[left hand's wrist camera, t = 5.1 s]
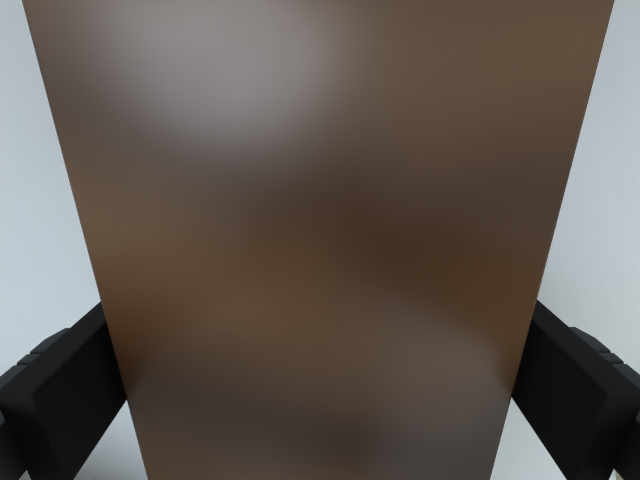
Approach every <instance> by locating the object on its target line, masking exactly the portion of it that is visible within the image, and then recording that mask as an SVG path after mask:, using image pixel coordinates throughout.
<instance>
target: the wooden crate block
mask: <svg viewBox="0 0 640 480" xmlns="http://www.w3.org/2000/svg"><path fill="white" fill-rule="evenodd" d="M22 2H23V6H24V10H25V14H26V18H27V21H28V25H29V29H30V33H31V37H32V40H33V44H34V48H35V52H36V56H37V59H38V63H39V67H40V71H41V75H42V78H43V82H44V86H45V90H46V94H47V97H48V101H49V105H50V109H51V113H52V116H53V120H54V124H55V128H56V132H57V135H58V139H59V143H60V147H61V151H62V154H63V158H64V162H65V166H66V170H67V173H68V177H69V181H70V185H71V189H72V192H73V196H74V200H75V204H76V208H77V212H78V215H79V219H80V223H81V227H82V231H83V234H84V238H85V242H86V246H87V250H88V253H89V257H90V261H91V265H92V269H93V272H94V276H95V280H96V284H97V288H98V291H99V295H100V299H101V303H102V307H103V310H104V314H105V318H106V322H107V326H108V329H109V333H110V337H111V341H112V345H113V348H114V352H115V356H116V360H117V364H118V367H119V371H120V375H121V379H122V383H123V386H124V390H125V394H126V398H127V402H128V405H129V409H130V413H131V417H132V421H133V424H134V428H135V432H136V436H137V440H138V443H139V447H140V451H141V455H142V459H143V462H144V466H145V470H146V474H147V478H148V480H490V477H491V473H492V469H493V465H494V462H495V458H496V454H497V450H498V446H499V442H500V439H501V435H502V431H503V427H504V423H505V419H506V415H507V412H508V408H509V404H510V400H511V396H512V392H513V388H514V385H515V381H516V377H517V373H518V369H519V365H520V362H521V358H522V354H523V350H524V346H525V342H526V338H527V335H528V331H529V327H530V323H531V319H532V315H533V311H534V308H535V304H536V300H537V296H538V292H539V288H540V284H541V281H542V277H543V273H544V269H545V265H546V261H547V258H548V254H549V250H550V246H551V242H552V238H553V234H554V231H555V227H556V223H557V219H558V215H559V211H560V207H561V204H562V200H563V196H564V192H565V188H566V184H567V181H568V177H569V173H570V169H571V165H572V161H573V157H574V154H575V150H576V146H577V142H578V138H579V134H580V130H581V127H582V123H583V119H584V115H585V111H586V107H587V104H588V100H589V96H590V92H591V88H592V84H593V80H594V77H595V73H596V69H597V65H598V61H599V57H600V53H601V50H602V46H603V42H604V38H605V34H606V30H607V27H608V23H609V19H610V15H611V11H612V7H613V3H614V0H22Z"/></svg>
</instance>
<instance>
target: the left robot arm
mask: <svg viewBox="0 0 640 480" xmlns="http://www.w3.org/2000/svg"><path fill="white" fill-rule="evenodd" d="M511 397H512V398H513V400H514V401H515V403H516V404H517V406H518V407H519V409H520V410H521V412H522V413H523V415H524V416H525V418H526V419H527V421H528V422H529V424H530V425H531V427H532V428H533V430H534V431H535V433H536V434H537V436H538V437H539V439H540V440H541V442H542V443H543V445H544V446H545V448H546V449H547V451H548V452H549V454H550V455H551V457H552V458H553V460H554V461H555V463H556V464H557V466H558V467H559V469H560V470H561V472H562V473H563V475H564V476H565V478H566V479H567V480H609V478H610V476H611V473H612V471H613V469H615V470H616V471H617V473H618V474H619V475H620V476H621V478H622V479H623V480H640V375H639V374H638V373H637V372H636V371H634V370H633V369H632V368H631V367H630V366H628V365H627V364H624V363H623V361H622V360H621V359H620V358H619V357H617V356H616V355H615V354H614V353H611V352H610V350H609V349H608V348H607V347H605V346H604V345H603V344H602V343H601V342H599V341H598V340H597V339H596V338H594V337H592V336H591V335H589V334H587V333H585V332H583V331H581V330H580V329H578V328H576V327H568V326H567V325H566V324H565V323H563V322H562V321H561V320H560V319H559V318H558V317H557V316H555V315H554V314H553V313H552V312H551V311H550V310H549V309H547V308H546V307H545V306H544V305H543V304H542V303H540V302H539V301H538V300H536V304H535V308H534V311H533V315H532V319H531V323H530V327H529V331H528V335H527V338H526V342H525V346H524V350H523V354H522V358H521V362H520V365H519V369H518V373H517V377H516V381H515V385H514V388H513V392H512V396H511ZM126 400H127V398H126V394H125V390H124V386H123V383H122V379H121V375H120V371H119V367H118V364H117V360H116V356H115V352H114V348H113V345H112V341H111V337H110V333H109V329H108V326H107V322H106V318H105V314H104V310H103V307H102V303H101V302H100V303H98V304H97V305H96V306H95V307H94V308H93V309H91V310H90V311H89V312H88V313H87V314H86V315H85V316H83V317H82V318H81V319H80V320H79V321H78V322H77V323H75V324H74V325H73V326H72V327H71V328H65V329H63V330H61V331H59V332H58V333H56V334H54V335H52V336H50V337H48V338H47V339H45V340H44V341H43V342H41V343H40V344H39V345H38V346H37V347H35V348H34V349H33V350H32V351H31V352H30V354H27V355H26V356H25V357H23V358H22V359H21V360H20V361H19V362H17V365H16V366H13V367H11V368H10V369H9V370H8V371H7V372H5V373H4V374H3V375H2V376H1V377H0V480H19V478H20V477H21V476H22V475H23V473H24V472H25V471H26V470H27V471H28V473H29V476H30V478H31V480H73V479H74V478H75V476H76V475H77V473H78V472H79V470H80V469H81V467H82V466H83V464H84V463H85V461H86V460H87V458H88V457H89V455H90V454H91V452H92V451H93V449H94V448H95V446H96V445H97V443H98V442H99V440H100V439H101V437H102V436H103V434H104V433H105V431H106V430H107V428H108V427H109V425H110V424H111V422H112V421H113V419H114V418H115V416H116V415H117V413H118V412H119V410H120V409H121V407H122V406H123V404H124V403H125V401H126Z"/></svg>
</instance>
